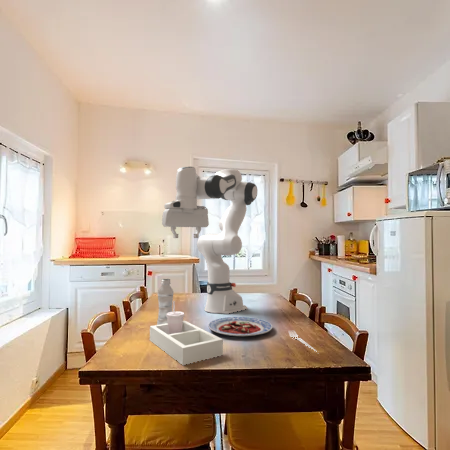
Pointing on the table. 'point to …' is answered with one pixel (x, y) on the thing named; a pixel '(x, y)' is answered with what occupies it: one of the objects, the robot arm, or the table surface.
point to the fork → (300, 340)
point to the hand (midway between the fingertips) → (186, 238)
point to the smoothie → (175, 320)
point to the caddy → (187, 343)
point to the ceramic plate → (240, 326)
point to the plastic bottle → (164, 301)
